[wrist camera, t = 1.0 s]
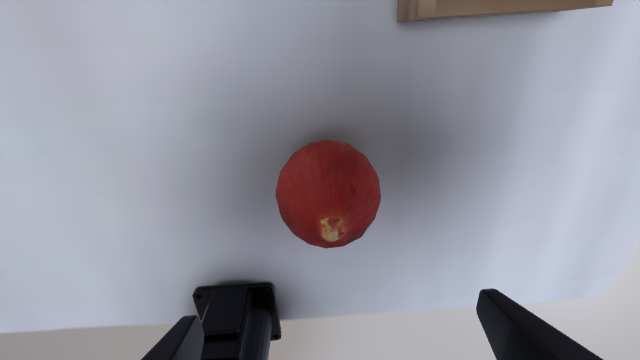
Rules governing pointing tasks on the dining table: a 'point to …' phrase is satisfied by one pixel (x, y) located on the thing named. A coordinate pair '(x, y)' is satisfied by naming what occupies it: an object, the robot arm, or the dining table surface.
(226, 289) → the robot arm
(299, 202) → the onion
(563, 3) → the wooden square tray
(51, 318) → the dining table surface
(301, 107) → the dining table surface
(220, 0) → the dining table surface
